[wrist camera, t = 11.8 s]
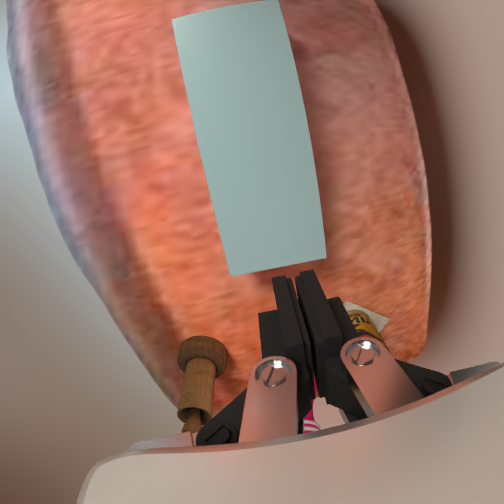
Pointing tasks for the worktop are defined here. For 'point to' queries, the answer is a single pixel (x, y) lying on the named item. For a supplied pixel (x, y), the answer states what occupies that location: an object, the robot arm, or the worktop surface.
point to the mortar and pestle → (199, 379)
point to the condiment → (366, 322)
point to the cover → (252, 134)
